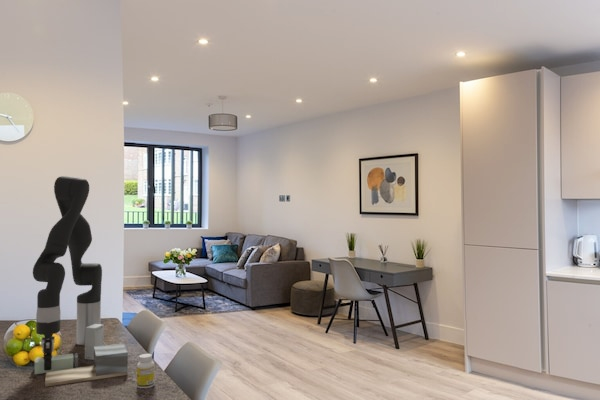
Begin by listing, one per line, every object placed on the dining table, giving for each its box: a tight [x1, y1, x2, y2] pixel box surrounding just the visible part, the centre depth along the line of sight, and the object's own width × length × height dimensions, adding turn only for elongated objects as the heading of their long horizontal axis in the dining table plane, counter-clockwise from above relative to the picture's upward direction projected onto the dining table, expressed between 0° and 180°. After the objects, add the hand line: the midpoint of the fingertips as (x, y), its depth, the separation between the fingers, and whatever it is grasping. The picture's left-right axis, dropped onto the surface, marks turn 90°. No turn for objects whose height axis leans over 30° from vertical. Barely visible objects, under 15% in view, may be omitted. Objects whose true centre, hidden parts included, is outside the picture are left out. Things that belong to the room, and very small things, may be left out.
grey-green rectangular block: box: [34, 352, 79, 375], centre depth 169 cm, size 6×14×4 cm, turn 117°
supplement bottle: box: [136, 353, 156, 389], centre depth 154 cm, size 5×5×10 cm
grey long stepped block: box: [44, 342, 129, 388], centre depth 163 cm, size 12×25×8 cm, turn 117°
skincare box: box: [84, 323, 105, 361], centre depth 182 cm, size 6×4×12 cm
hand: (48, 366), depth 168 cm, fingers closed on grey-green rectangular block, 5 cm apart
